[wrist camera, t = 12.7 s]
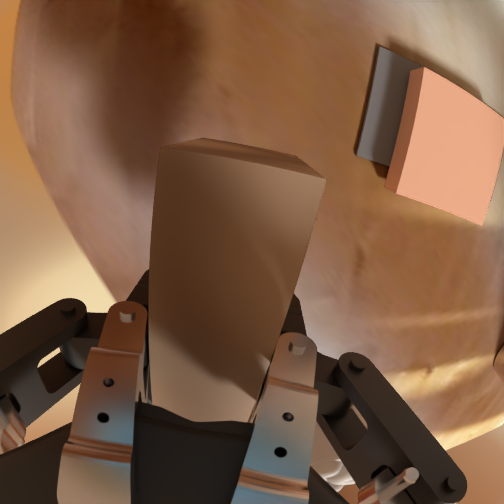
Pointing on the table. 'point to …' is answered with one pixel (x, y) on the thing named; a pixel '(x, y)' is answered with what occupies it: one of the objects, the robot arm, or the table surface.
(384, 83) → the mat
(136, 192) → the table surface
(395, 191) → the tile
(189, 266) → the bar
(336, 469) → the lumpy-topped squat cylinder
